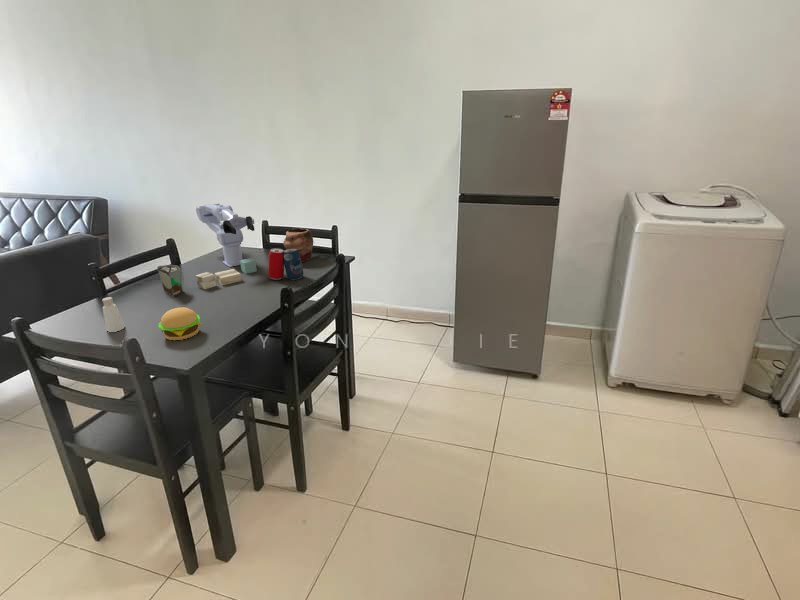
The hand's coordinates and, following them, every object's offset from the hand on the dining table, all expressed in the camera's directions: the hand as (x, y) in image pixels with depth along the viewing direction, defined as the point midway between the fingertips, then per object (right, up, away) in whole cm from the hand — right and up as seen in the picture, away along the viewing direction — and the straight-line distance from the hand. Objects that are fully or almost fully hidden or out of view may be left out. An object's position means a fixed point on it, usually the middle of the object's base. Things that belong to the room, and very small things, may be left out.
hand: (244, 230), depth 187 cm
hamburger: (-4, -40, -44) cm, 59 cm away
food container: (-23, -26, -9) cm, 36 cm away
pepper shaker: (-28, -39, -40) cm, 62 cm away
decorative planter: (+18, -9, +27) cm, 34 cm away
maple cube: (-13, -23, -5) cm, 27 cm away
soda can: (+21, -20, +2) cm, 29 cm away
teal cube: (-2, -16, +12) cm, 20 cm away
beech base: (-7, -21, +1) cm, 22 cm away
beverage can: (+13, -20, +1) cm, 23 cm away
